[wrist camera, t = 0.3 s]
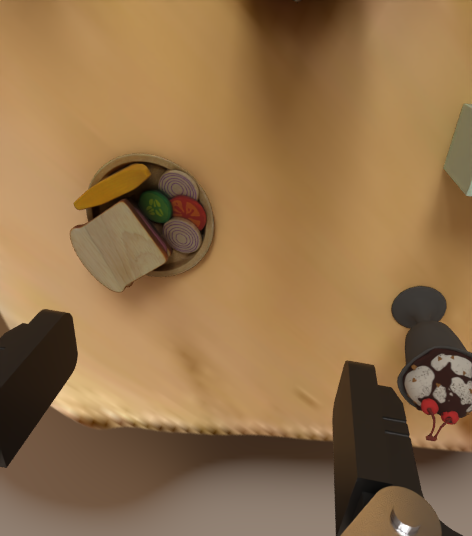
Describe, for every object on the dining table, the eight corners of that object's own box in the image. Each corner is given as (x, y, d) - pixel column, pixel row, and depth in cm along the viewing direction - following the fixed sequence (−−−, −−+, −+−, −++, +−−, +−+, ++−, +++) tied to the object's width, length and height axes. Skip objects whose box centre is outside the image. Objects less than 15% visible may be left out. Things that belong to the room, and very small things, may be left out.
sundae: (368, 316, 44) (388, 440, 31) (411, 266, 40) (455, 382, 27) (423, 345, 44) (466, 480, 31) (471, 299, 41) (541, 428, 28)
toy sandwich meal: (238, 248, 43) (229, 272, 39) (126, 288, 47) (108, 313, 43) (176, 127, 38) (159, 140, 34) (59, 184, 42) (31, 202, 38)
